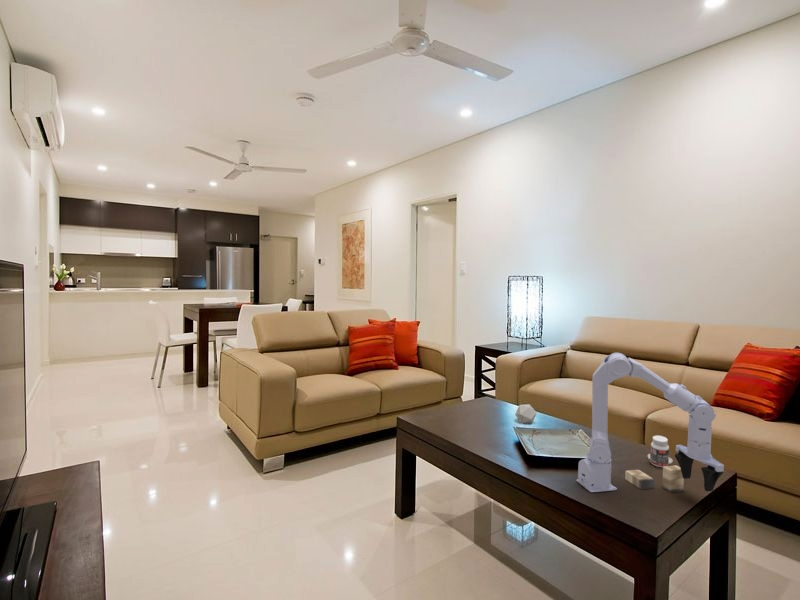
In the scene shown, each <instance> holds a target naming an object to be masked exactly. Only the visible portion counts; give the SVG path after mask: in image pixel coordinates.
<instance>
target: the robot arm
mask: <svg viewBox="0 0 800 600" xmlns="http://www.w3.org/2000/svg"><path fill="white" fill-rule="evenodd" d="M627 376H629V377H631V378H639V379H640V378H641V379H642V380H643V381H645V382H646V383H648V384H650V385H652V386H653V387H654V388H656V389H658V390H660V391H661V392H662V393H663V398H664V399H666V400H667V401H668V402H670V403H671V404H673V405H675V407H677V408H678V409H681V411H684V412H686V413H688V428H687V442H686V443H687V444H686V445H687V446H685V445H683V444H675V452H677V453H674V457H675V459H676V461H677V463H678V465H679V466H678V467H680V469H681V472H682V476H683V478H684V480H687V479H691V477H692V468H693V463H694V461H697V462H699V463H701V464H703V465H706V466H704V467H703V466H702V467H700V469H701V472H702V474H703V475H702V476H703V480H704V481H703V487H704V491H705V492H713V491H714V488H715V485H716V484H717V482H718V480H719V478H720V477H722V475H723V474H724V471H725V464H723V463H721V462H720V461H718V460H716V459H715V458H714V457H713V454H711V453H712V451H711V450H712V449H711V448H712V435H713V434H712V431H713V430H712V429H713V427H712V424H713V421H714V420H715V419H716V417H717V416H716V414H715V410H714V408H713V407H712V405H710V404H709V403H708V402H707V401H706V400H705V399H704V398H702V397H701V396H700V395H696V394H694V393H693V392H691V391H689V390H688V389H687V387H686V386H685V385H684V384H682V383H681V384H679V383H676V382H675V383H670V382H668V381H666V380H665V379H663V378H662V377H661V376H660V375H658V374H656V373H655V372H654V371H652V370H651V369H649V368H647V366H644V365H643V364H642V363H640V362H638V361H636V360H634V359H633V358H631V357H630V356H629V357H627V356H626V355H625V354H623V353H622V352H613V353H611V354H608V355H607V356H606V357H604V358H603V360H602V362H601V363H600V365H599V366H598V367H597V368H596V370H595V371H594V373H592V381H591V382H592V383H591V384H592V390H591V391H592V395H591V396H592V397H591V399H592V401H591V403H592V404H591V409H592V410H591V411H592V413H591V414H592V415H591V421H592V422H591V435H590V437H589V438H588V447H589V451H588V453H587V456H586V457H585V458H583V459H581V460H579V461H578V466H577V467H578V469H577V479H576V482H578V484H580V485H581V486H582V487H583V488H584V489H586V490H587V491H589V492H590V493H600V492H611V491H617V490H618V488H617V487H616V486H614V485H613V484H612V483H611V482H612V451H611V448H610V442H609V437H608V436H609V434H608V430H609V429H608V425H609V424H608V422H609V421H608V417H609V416H608V413H609V412H608V409H609V407H608V405H609V404H608V403H609V401H608V400H609V385H610V384H611V383H612V382H613V381H615V380H617V379H621V378H624V377H627Z"/></svg>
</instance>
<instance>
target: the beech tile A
mask: <svg viewBox="0 0 800 600" xmlns="http://www.w3.org/2000/svg"><path fill="white" fill-rule="evenodd" d="M624 473H625V475H624V477H625V478H624V479H625V481H628V482H629V483H631V484H632V485H634V486H635V487H636V488H638V489H639V490H647V489H648V490H649V489H655V478H653V477H651V476H649V474H647V473H645V472H643V471H642V470H640V469H630V470H629V469H628V470H625V472H624Z"/></svg>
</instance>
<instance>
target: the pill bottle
mask: <svg viewBox="0 0 800 600" xmlns="http://www.w3.org/2000/svg"><path fill="white" fill-rule="evenodd" d="M668 443H669V440H668V438H667V437H666V436H663V435H654V436H652V442H651V443H650V453H649V454H650V459H649V461H650V463H651V464H652V465H653V466H655V467H658V468H663V466H669V464H668V462H669V457H670V446H669V444H668Z"/></svg>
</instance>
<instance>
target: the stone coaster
mask: <svg viewBox="0 0 800 600" xmlns="http://www.w3.org/2000/svg"><path fill="white" fill-rule="evenodd" d="M647 458H648V460H650V453H648V454H647ZM670 464H673V458H672V457H670V456H669V462H668V465H670Z"/></svg>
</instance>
